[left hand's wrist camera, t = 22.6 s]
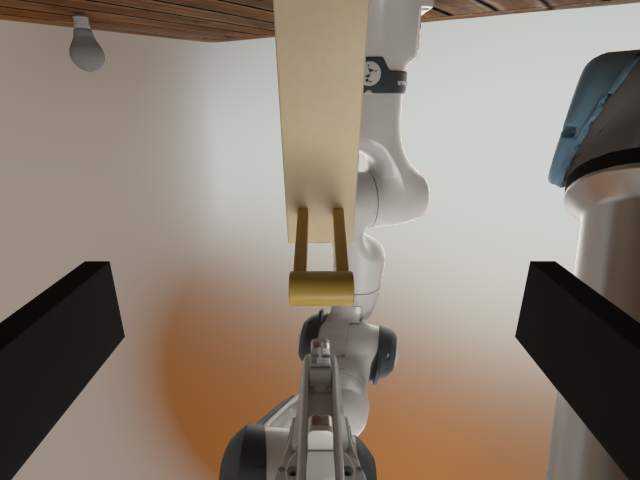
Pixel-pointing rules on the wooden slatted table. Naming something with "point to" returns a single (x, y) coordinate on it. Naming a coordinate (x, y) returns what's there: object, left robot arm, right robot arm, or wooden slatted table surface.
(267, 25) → the wooden slatted table surface
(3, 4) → the wooden slatted table surface
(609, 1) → the wooden slatted table surface
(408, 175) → the right robot arm
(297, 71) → the lid
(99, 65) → the light bulb
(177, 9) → the wooden slatted table surface
